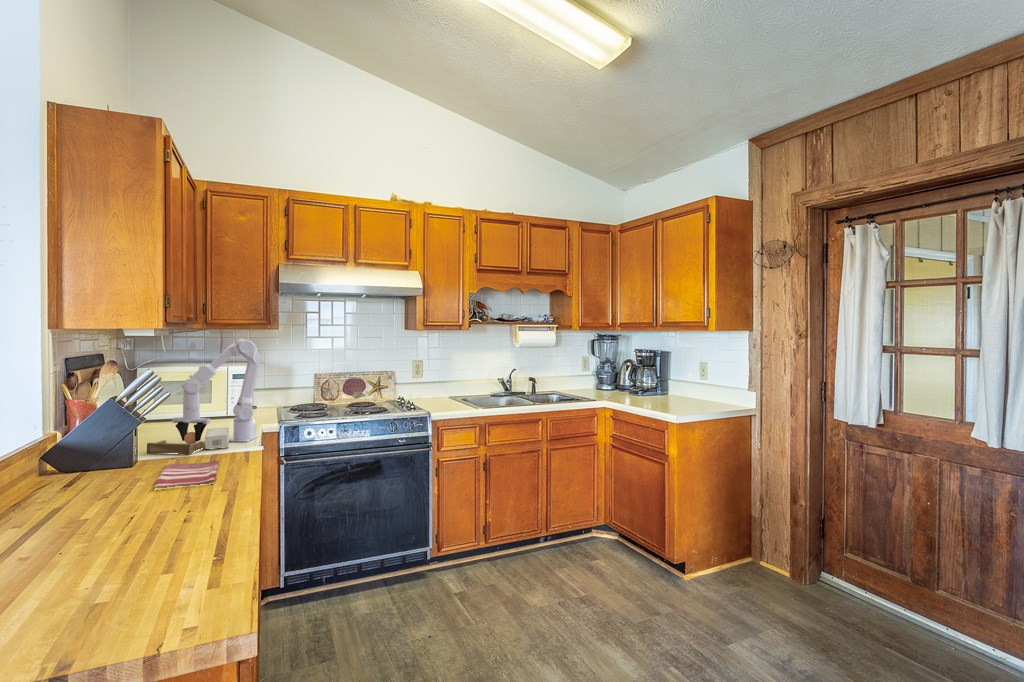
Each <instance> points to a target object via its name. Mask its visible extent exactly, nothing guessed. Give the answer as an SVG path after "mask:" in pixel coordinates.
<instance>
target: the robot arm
mask: <svg viewBox="0 0 1024 682" xmlns="http://www.w3.org/2000/svg"><path fill="white" fill-rule="evenodd" d="M240 355H242V356H243V357H244V358H245V360H246V361H247V363H246V366H245V367H246V368H245V372H244V377H243V382H242V385H241V389H240V390H241V391H240V394H239V395H240V396H239V397H238V399H237V402H236V405H235V406H234V407H233V409H232V412H233V414H234V415H235V417H234V418H233V433H232V434H233V435H232V436H233V438H231V439H229V442H236V443H237V442H241V443H248V442H250V441H252V440H254V439H257V438H258V437H259V436H258V435H257V421H256V420H255V419H254V418H253V415H254V409H253V406H254V403H253V398H254V393H255V388H256V384H257V379H258V375H259V372H260V371H259V370H260V365H261V361H262V358H261V355H260V353H259V351H258V347H257V345H256V344H255V343H254V342H253V341H252V340H249V339H245V338H239V339H236V340H235V342H233V343H231V344H230V345H228V347H226V348H225V349H224V350H223V351H222V352H221V353H220V354H219V355H218V356H217V357H216V358H214V360H213V361H211V362H210V364H203V365H200V366H199V367H198V369H197V370H196V372H194V373H193V374H190V375H189V377H188V378H186V380H184V381H183V383H182V385H181V387H182V389H183V394H182V395H183V396H182V397H183V398H182V412H183V413H182V415H183V416H181V417H173V418H171V419H172V420H171V422H172V424H175V428H176V429H177V430H178V433H179V434H180V437H181V441H182V442H185V441H184V437H185V435H186V434H187V433H188V432H189V431H188V429H189V424H193V428H194V432H195V440H196V441H197V442H200V441H201V439H202V435H203V432H204V430H205V429H206V426H207V425H209V424H211V418H206V417H200V415H201V414H200V413H201V412H200V401H201V400H200V398H201V397H200V391H201V389H202V386H204V385H205V384H206V383H207V382H209V381H210V380H211V379H212V378H213V377H214V376H215V375H216V373H217V370H218V368H220V367H221V366H222V365H224V364H225V363H226V362H227V361H228V360H230V359H231V358H232V357H236V356H237V357H238V356H240ZM176 423H177V424H176Z"/></svg>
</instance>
